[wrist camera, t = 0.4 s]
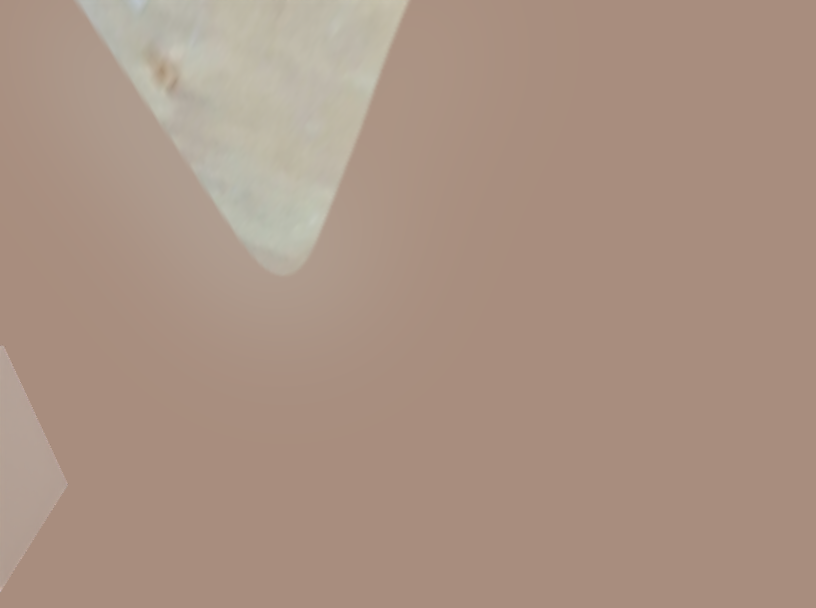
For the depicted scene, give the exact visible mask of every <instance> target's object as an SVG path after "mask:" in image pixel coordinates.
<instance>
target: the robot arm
mask: <svg viewBox="0 0 816 608" xmlns="http://www.w3.org/2000/svg"><path fill="white" fill-rule="evenodd" d="M67 485H68V484H67V482H66V479H65V477H64V475H63V473H62V471H61V469H60V467H59V465H58V462H57V461H56V458H55V456H54V454H53V451H52V449H51V447H50V445H49V443H48V441H47V439H46V436H45V434H44V432H43V430H42V428H41V426H40V424H39V421H38V419H37V417H36V415H35V413H34V411H33V408H32V406H31V404H30V402H29V400H28V398H27V396H26V394H25V391H24V389H23V387H22V385H21V383H20V380H19V379H18V376H17V374H16V372H15V370H14V368H13V365H12V363H11V361H10V359H9V357H8V355H7V353H6V350H5V348H4V346H0V592H1V590H2V588H3V587H4V585H5V584H6V582H7V581H8V579H9V577H10V576H11V574H12V573H13V571H14V569H15V568H16V566H17V565H18V563H19V562H20V560H21V558H22V557H23V555H24V553H25V552H26V550H27V549H28V547H29V546H30V544H31V542H32V541H33V539H34V538H35V536H36V534H37V533H38V531H39V530H40V528H41V526H42V525H43V523H44V522H45V520H46V519H47V517H48V515H49V514H50V512H51V511H52V509H53V507H54V506H55V504H56V503H57V501H58V500H59V498H60V496H61V495H62V493H63V492H64V490H65V489H66V487H67Z"/></svg>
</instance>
